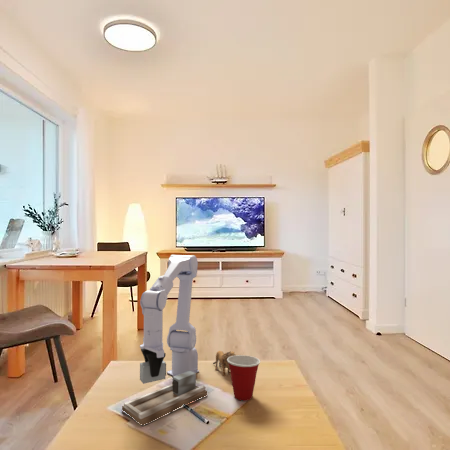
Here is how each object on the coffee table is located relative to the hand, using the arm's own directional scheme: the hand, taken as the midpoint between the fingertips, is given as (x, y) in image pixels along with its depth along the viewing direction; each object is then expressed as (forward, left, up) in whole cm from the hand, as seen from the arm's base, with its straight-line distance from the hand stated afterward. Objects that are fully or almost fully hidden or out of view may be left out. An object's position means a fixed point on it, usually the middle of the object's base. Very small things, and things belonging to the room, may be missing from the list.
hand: (152, 373), depth 104 cm
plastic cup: (-23, +17, -9) cm, 30 cm away
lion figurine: (-33, -1, -9) cm, 34 cm away
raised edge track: (-3, +3, -9) cm, 10 cm away
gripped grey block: (0, 0, -2) cm, 2 cm away
